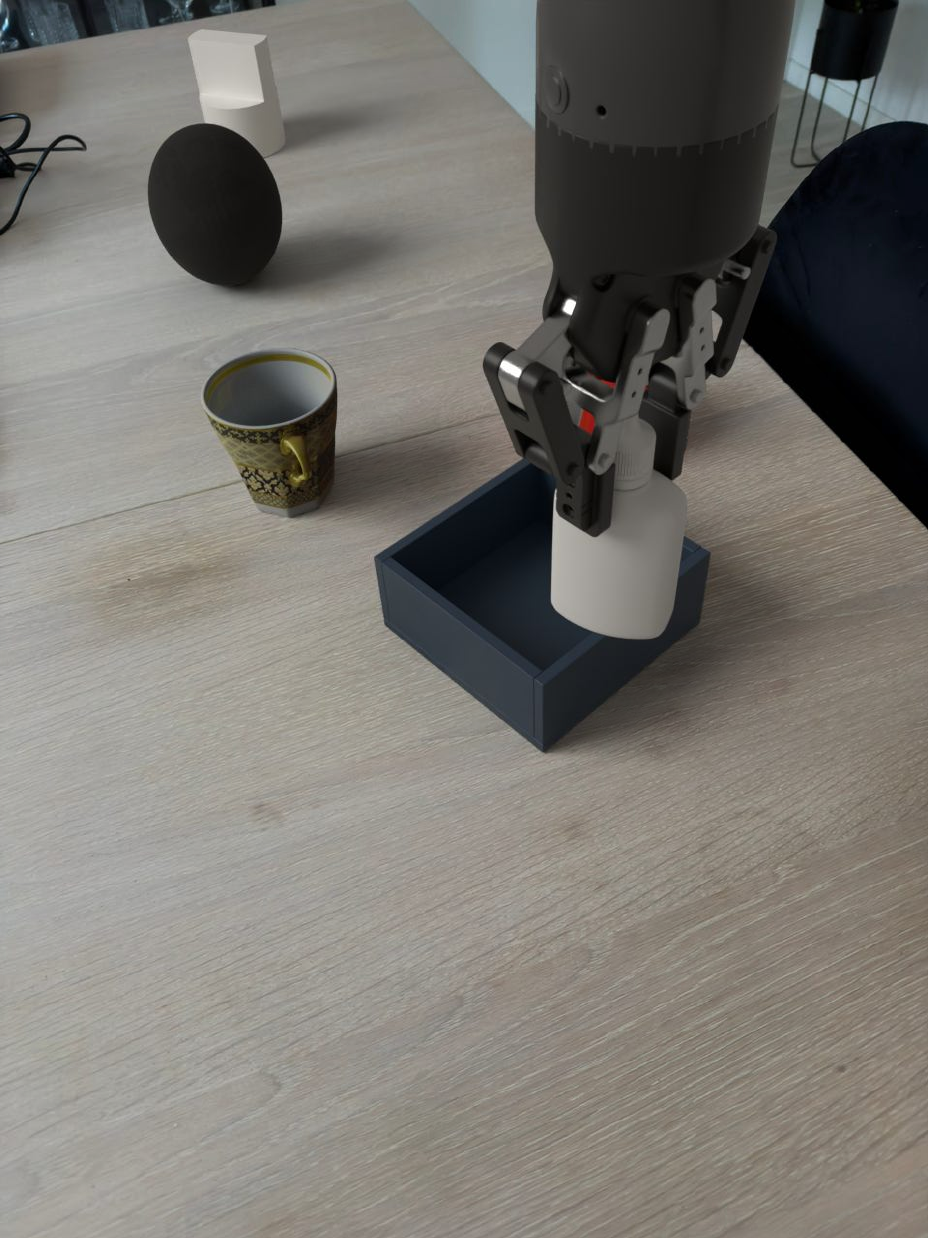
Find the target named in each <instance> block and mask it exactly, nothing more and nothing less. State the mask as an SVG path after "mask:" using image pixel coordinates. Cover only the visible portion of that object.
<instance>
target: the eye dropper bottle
mask: <svg viewBox="0 0 928 1238" xmlns="http://www.w3.org/2000/svg"><path fill="white" fill-rule="evenodd" d="M655 444H656V433H655V431H654V429H653V427H652V426H651V425H650V424H649V423H647V422H646V421H644V420H642V419H640V418H639V415H638V413H637V415H636V416H634V417H632V418H629V419H626V420H625V421H624V424H623V428H622V432H621V435H620V439H619V443H618V447H617V451H616V454H615V458H614V461H613V463H615V477H614V489H613V502H612V515H611V526H610V528H608V529H607V530H606V531H604V532H603V533H602V534H600V535H599V536H598V537H592V536H590V535H588V534H587V533H585V532H583V531H581V530H580V529H578V528H577V527H575V526H574V525H572V524H571V523H569V522H567V521H566V520H564V519H563V518H561V517H560V516H559V515H558V513H557V511H556V499H557V498H556V492H557V490H555V495H554V509H553V535H552V574H551V603H552V605H553V607H554V608H555V610H556V611H557V612H558V613H560V614H561V615H562V616H564V617H565V618H566V619H568V620H570V621H571V622H573V623H575V624H577V625H579V626H581V627H583V628H585V629H588V630H590V631H593V632H596V633H599V634H603V635H607V636H611V637H617V638H625V639H652V638H655V637H658V636H659V635H660V634H661V633H662V632H663V631H664V630H665V628H666V626H667V624H668V621H669V619H670V616H671V614H672V611H673V607H674V600H675V594H676V587H677V580H678V573H679V566H680V560H681V553H682V545H683V538H684V536H685V532H686V531H685V530H686V523H687V514H688V498H687V495H686V493H685V492H684V491H683V489H682V488H681V487H680V486H678V484H676V483H675V482H674V481H671V480H670V479H668V478H667V477H665V476H664V475H662V474H661V473H659V472H658V471H656V470H654V469H653V462H654V453H655Z"/></svg>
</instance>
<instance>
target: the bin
mask: <svg viewBox="0 0 928 1238" xmlns="http://www.w3.org/2000/svg"><path fill="white" fill-rule="evenodd" d="M556 481H557V479H556V478H554V477H553V476H551V475H550V474H548V473H546V472H545V471H543V470H542V469H540V468H538V467H537V466H535V465H534V464H532V463H530V462H529V461H527V460H526V459H524V458H521V459H520V460H518V461H517V462H515V463H514V464H512V465H511V466H509V467H507V468H506V469H505V470H503V471H501V472H500V473H499V474H497V475H495V476H494V477H492V478H491V479H489V480H488V481H486V482H485V483H483V484H482V485H481V486H480V485H479V486H478V488H476V489H474V490H472V491H471V492H470V493H468V494H467V495H465V496H464V497H462V498H461V499H459V500H457V501H456V502H455V503H452V504H451V505H450V506H449V507H447V508H445V509H443V510H442V511H441V512H439V513H438V514H436V515H434V516H433V517H432V518H430V519H429V520H427V521H425V522H424V523H423V524H421V525H420V526H418V527H417V528H416V529H413V530H412V531H411V532H409V533H408V534H406V535H404V536H403V537H402V538H400V539H398V540H397V541H395V542H394V543H392V544H390V545H389V546H388V547H386V548H384V549H383V550H382V551H380V552H379V553H377V554H375V555H374V556H373V561H374V566H375V573H376V580H377V585H378V593H379V598H380V605H381V612H382V617H383V623H384V626H385V627H386V628H387V629H389V630H390V631H391V632H392V633H394V634H395V635H396V636H397V637H398V638H400V639H401V640H402V641H403V642H404V643H406V644H407V645H408V646H410V647H411V648H412V649H413V650H414V651H416V652H417V653H418V654H419V655H421V656H422V657H423V658H425V659H426V660H427V661H428V662H429V663H431V664H432V665H433V666H434V667H436V668H437V669H438V670H439V671H441V672H442V673H443V674H444V675H446V676H447V677H448V678H449V679H450V680H452V681H453V682H454V683H456V684H457V685H458V686H459V687H460V688H462V689H463V690H464V691H465V692H467V694H469V695H470V696H472V697H473V698H474V699H475V700H477V701H478V702H479V703H480V704H482V706H484V707H485V708H486V709H488V710H489V711H490V712H491V713H493V714H494V715H495V716H496V717H498V718H499V719H501V720H502V721H503V722H504V723H505V724H506V725H507V726H508V727H510V728H511V729H513V730H514V731H515V732H516V733H517V734H518V735H520V736H522V737H523V738H524V740H526V741H528V743H530V744H531V745H532V746H534V747H535V748H536V749H537V750H539V751H540V752H541V753H542V754H544V753H545V752H546V751H547V750H549V749H550V748H551V747H552V746H553V745H555V744H556V743H557V742H558V741H560V740H561V739H562V738H563V737H565V736H566V735H567V734H568V733H569V732H570V731H572V729H574V728H575V727H576V726H577V725H579V724H580V723H581V722H582V721H583V720H585V719H586V718H587V717H588V716H590V715H591V714H592V713H593V712H594V711H595V710H597V709H598V708H599V707H600V706H602V705H603V704H604V703H605V702H606V701H607V700H608V699H610V698H611V697H613V696H614V695H615V694H616V693H617V692H618V691H619V690H621V689H622V688H623V687H624V686H625V685H627V684H628V683H629V682H630V681H632V680H633V679H634V678H635V677H636V676H637V675H639V674H640V673H641V672H642V671H643V670H645V669H646V668H647V667H648V666H649V665H651V663H653V662H655V661H656V660H657V659H658V657H661V656H662V654H664V653H665V652H666V651H668V649H670V648H671V647H672V646H673V645H674V644H676V643H677V642H678V641H679V640H680V639H682V638H683V637H685V635H686V634H688V633H689V632H690V631H691V630H692V629H694V628H695V627H696V626H697V625H699V623H701V618H702V612H703V605H704V599H705V593H706V586H707V580H708V574H709V567H710V561H711V555H712V553H711V551H710V550H707V549H706V548H705V547H703V546H702V545H700V544H699V543H697V542H695V541H694V540H692V539H690V538H689V537H687V536H685V535H684V538H683V545H682V553H681V560H680V566H679V573H678V580H677V587H676V594H675V600H674V607H673V611H672V614H671V616H670V619H669V621H668V624H667V626H666V628H665V630H664V631H663V632H662V633H661V634H660V635H659V636H658V637H655V638H652V639H625V638H617V637H611V636H607V635H603V634H599V633H596V632H593V631H590V630H588V629H585V628H583V627H581V626H579V625H577V624H575V623H573V622H571V621H570V620H568V619H566V618H565V617H564V616H562V615H561V614H560V613H558V612H557V611H556V610H555V608H554V607H553V605H552V603H551V574H552V535H553V509H554V495H555V490H556Z"/></svg>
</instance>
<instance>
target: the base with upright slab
mask: <svg viewBox="0 0 928 1238" xmlns="http://www.w3.org/2000/svg"><path fill="white" fill-rule="evenodd" d="M187 42H188V48H189V51H190V55H191V59H192V64H193V68H194V73H195V78H196V83H197V86H198V90H199V97H198V98H199V102H200V108H201V112H202V116H203V120H204V123H209V124H216V125H220V126H223V127H226V128H228V129H231V130H233V131H234V132H236V133H238V134H239V135H241V136H242V137H244V138H245V139H246V140H248V141H249V142H250V143H251V144H252V145H253V146H254V147H255V148H256V149H257V150H258V152H259V153H260V154H261V155H262V157H263V158H264V159H265V158H267V157H269V156H272V155H274V154H276V153H278V152H279V151H280V150H281V149H283V148H284V146H285V145H286V142H287V141H286V140H287V137H286V132H285V126H284V121H283V115H282V109H281V104H280V97H279V92H278V87H277V85H276V81H275V75H274V70H273V69H274V68H273V63H272V57H271V51H270V47H269V46H270V45H269V41H268V35H266V34H258V33H257V34H256V33H247V32H246V33H245V32H235V31H225V30H214V29H213V30H212V29H203V28H202V29H198V30H196V31H194V32H193V33H192V34H191V35H190V36H189V37H188V38H187Z"/></svg>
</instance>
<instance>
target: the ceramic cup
mask: <svg viewBox="0 0 928 1238" xmlns="http://www.w3.org/2000/svg"><path fill="white" fill-rule="evenodd" d="M337 379H338V378H337V375H336V372H335V369H334V368H333V367H332V365H331V364H330V363H329V362H328V361H327V360H325V358H323V357H321V356H319V355H318V354H316V353H313V352H311V351H307V350H304V349H299V348H292V347H271V348H265V349H264V348H263V349H257V350H253V351H250V352H246V353H243V354H241V355H238V356H236V357H233V358H231V359H229V360H227V361H226V362H224V363H223V364H221V365H220V366H218V367H217V368H216V369H215V370H214V371H212V373H210V375H208V377H207V378H206V380H205V382H204V383H203V385H202V388H201V391H200V403H201V406H202V408H203V410H204V413H205V415H206V417H207V419H208V421H209V422H210V425H211V427H212V429H213V431H214V432H215V435H216V436H217V438H218V440H219V442H220V443H221V445H222V447H223V448H224V450H225V451H226V453H227V454H228V455H229V456H230V459H231V460H232V462H233V463H234V465H235V467H236V469H237V471H238V473H239V475H240V477H241V479H242V481H243V483H244V485H245V488H246V490H247V491H248V493H249V496H250V498H251V499H252V501H253V503H254V505H255V507H256V509H258V510H259V511H261V512H263V513H267V514H273V515H276V516H281V517H285V518H292V517H296V516H299V515H302V514H304V513H308V512H312V511H314V510H317V509H318V508H320V507H321V505H322V503H323V502H324V500H325V499H326V497H327V496H328V495H329V493H330V492H331V490H332V489H333V487H334V484H335V483H334V482H335V463H336V461H335V460H336V430H337V423H338V422H337V421H338V380H337Z"/></svg>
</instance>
